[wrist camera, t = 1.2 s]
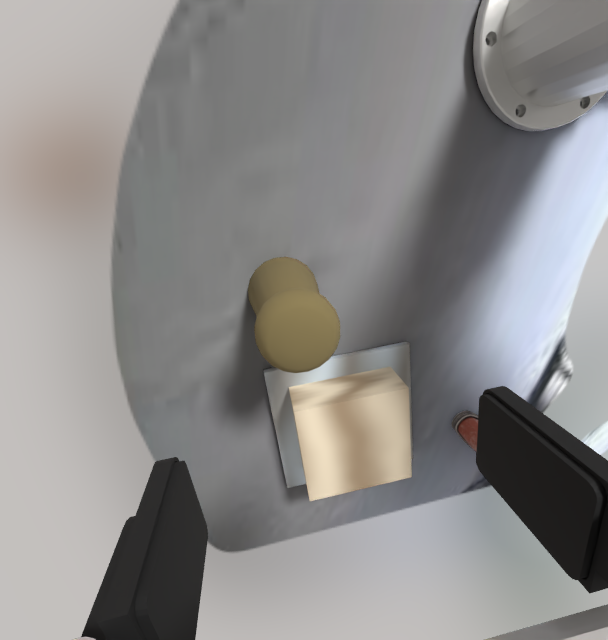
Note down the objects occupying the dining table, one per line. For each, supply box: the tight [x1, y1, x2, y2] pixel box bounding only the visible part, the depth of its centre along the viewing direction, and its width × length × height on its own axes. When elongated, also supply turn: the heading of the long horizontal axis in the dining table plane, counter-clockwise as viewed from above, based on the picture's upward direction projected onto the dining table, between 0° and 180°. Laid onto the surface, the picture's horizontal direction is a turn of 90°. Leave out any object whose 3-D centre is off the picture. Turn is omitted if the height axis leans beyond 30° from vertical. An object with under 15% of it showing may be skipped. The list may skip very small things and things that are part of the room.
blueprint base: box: [264, 342, 413, 501], centre depth 32 cm, size 14×14×5 cm
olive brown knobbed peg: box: [248, 257, 340, 373], centre depth 24 cm, size 6×6×11 cm
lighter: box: [452, 411, 478, 452], centre depth 33 cm, size 8×3×10 cm, turn 51°
